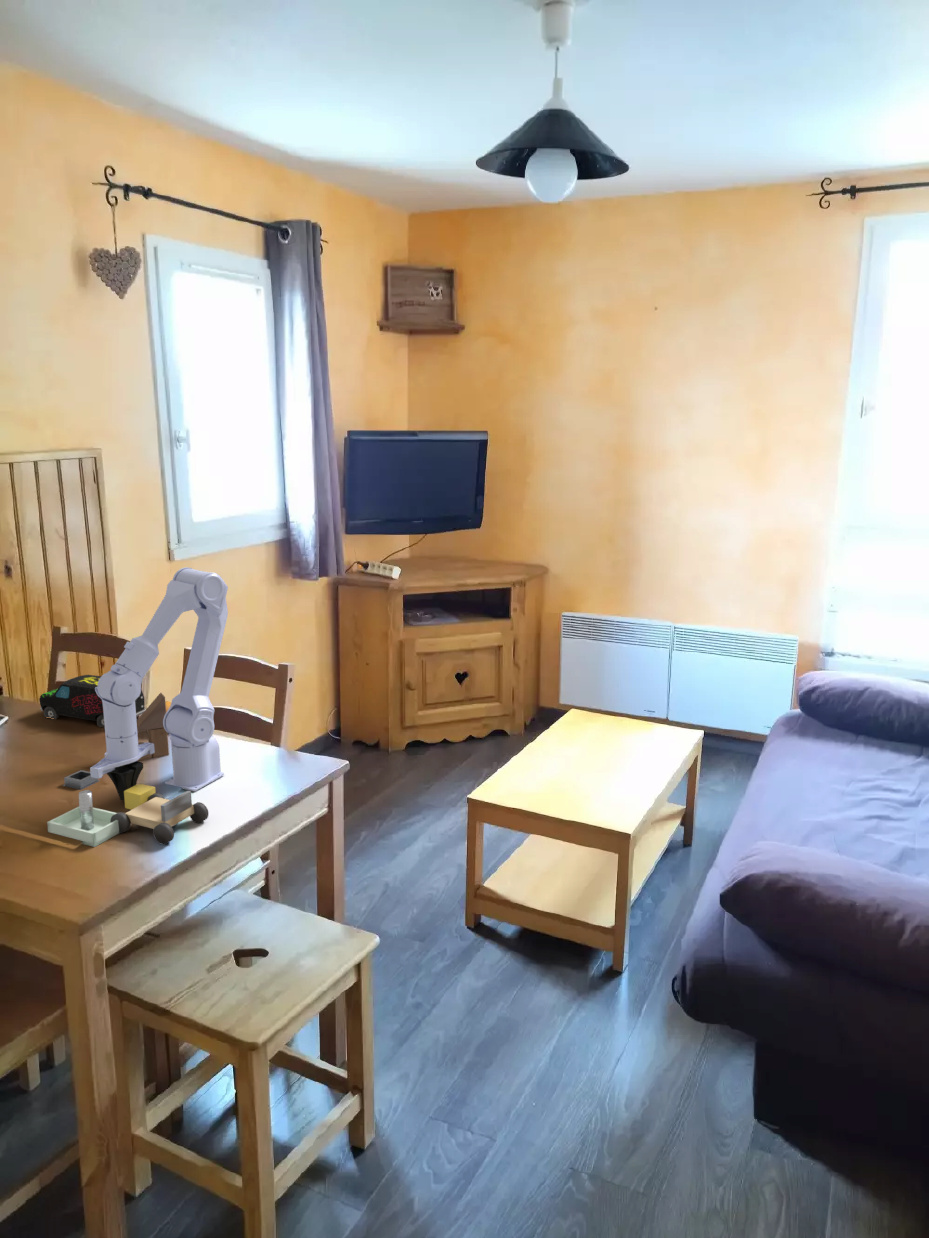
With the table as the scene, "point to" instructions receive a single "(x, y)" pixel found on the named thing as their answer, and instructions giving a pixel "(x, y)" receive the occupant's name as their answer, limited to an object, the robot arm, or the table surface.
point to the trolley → (162, 815)
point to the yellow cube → (137, 795)
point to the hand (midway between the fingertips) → (126, 799)
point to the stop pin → (86, 810)
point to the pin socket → (80, 780)
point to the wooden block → (155, 727)
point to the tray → (71, 828)
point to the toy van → (79, 700)
